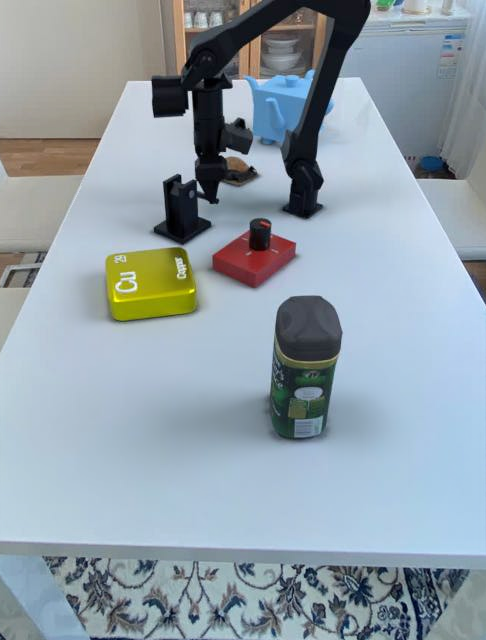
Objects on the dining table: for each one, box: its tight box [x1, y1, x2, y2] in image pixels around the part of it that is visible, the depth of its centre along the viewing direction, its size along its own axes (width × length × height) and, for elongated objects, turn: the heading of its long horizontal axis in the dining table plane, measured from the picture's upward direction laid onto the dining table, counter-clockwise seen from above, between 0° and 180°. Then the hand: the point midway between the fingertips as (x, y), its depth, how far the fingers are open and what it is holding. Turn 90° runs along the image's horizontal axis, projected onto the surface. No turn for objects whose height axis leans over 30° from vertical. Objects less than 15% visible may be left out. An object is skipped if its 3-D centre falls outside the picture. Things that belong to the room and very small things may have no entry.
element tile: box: [104, 246, 198, 322], centre depth 100 cm, size 15×15×5 cm
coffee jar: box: [269, 295, 344, 439], centre depth 74 cm, size 10×8×19 cm
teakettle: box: [242, 69, 335, 145], centre depth 140 cm, size 19×19×15 cm
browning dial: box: [248, 217, 273, 251], centre depth 104 cm, size 4×4×5 cm
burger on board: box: [221, 155, 260, 187], centre depth 131 cm, size 11×8×4 cm
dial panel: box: [211, 229, 297, 289], centre depth 106 cm, size 13×10×3 cm
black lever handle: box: [170, 181, 220, 205], centre depth 113 cm, size 12×6×2 cm, turn 142°
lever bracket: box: [152, 173, 212, 246], centre depth 112 cm, size 9×8×10 cm
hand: (211, 192), depth 118 cm, fingers open, 9 cm apart
